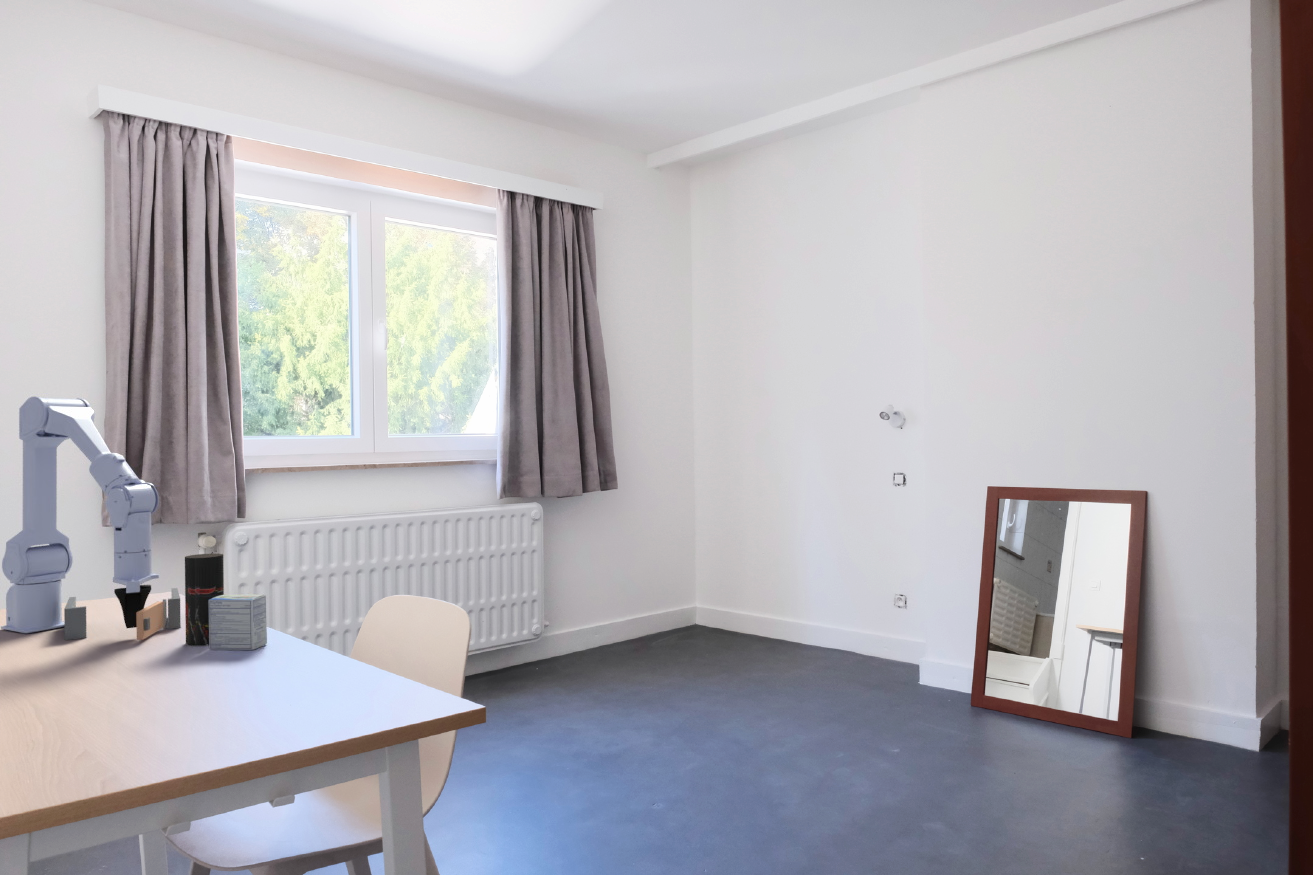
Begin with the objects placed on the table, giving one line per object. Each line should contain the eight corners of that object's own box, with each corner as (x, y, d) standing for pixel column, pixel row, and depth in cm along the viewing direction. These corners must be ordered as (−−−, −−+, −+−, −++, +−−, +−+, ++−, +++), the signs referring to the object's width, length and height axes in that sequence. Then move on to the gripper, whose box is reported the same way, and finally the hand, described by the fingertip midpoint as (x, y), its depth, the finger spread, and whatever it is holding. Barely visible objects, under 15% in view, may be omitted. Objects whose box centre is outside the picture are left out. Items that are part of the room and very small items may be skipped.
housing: (69, 626, 165) (69, 597, 165) (177, 615, 174) (177, 587, 174) (64, 639, 153) (64, 608, 153) (180, 627, 162) (180, 598, 162)
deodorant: (212, 645, 147) (211, 557, 147) (178, 646, 147) (177, 558, 147) (230, 637, 153) (229, 553, 153) (197, 638, 153) (196, 553, 153)
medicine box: (267, 644, 147) (267, 594, 148) (253, 651, 143) (252, 598, 143) (224, 644, 148) (223, 593, 148) (208, 650, 144) (207, 598, 144)
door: (136, 639, 150) (136, 612, 150) (157, 627, 160) (157, 601, 160) (146, 639, 150) (146, 611, 150) (167, 626, 160) (166, 601, 160)
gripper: (159, 554, 150) (160, 632, 150) (157, 545, 162) (158, 617, 162) (111, 557, 146) (112, 637, 146) (113, 548, 159) (113, 622, 159)
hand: (133, 627), depth 154 cm, fingers closed
